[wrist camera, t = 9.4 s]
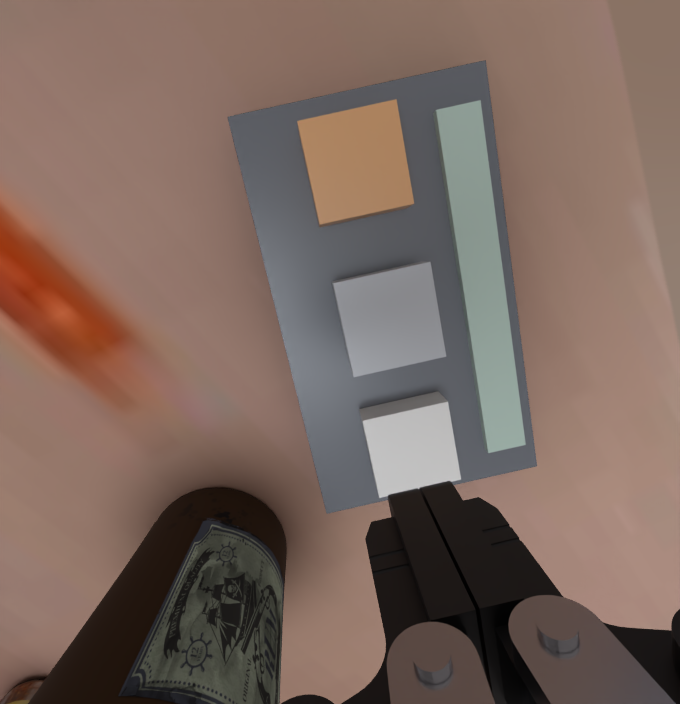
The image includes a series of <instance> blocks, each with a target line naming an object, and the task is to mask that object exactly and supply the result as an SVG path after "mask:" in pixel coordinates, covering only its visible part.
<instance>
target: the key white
mask: <svg viewBox="0 0 680 704" xmlns="http://www.w3.org/2000/svg"><path fill="white" fill-rule="evenodd" d="M359 411H360V415H361V420H362V424H363V429H364V433H365V438H366V443H367V447H368V452H369V456H370V461H371V465H372V470H373V475H374V479H375V483H376V487H377V491H378V495H379V498H382V497H386V496H388V495H389V494H394V493H398V492H402V491H407V490H411V489H416V488H418V489H419V488H420V487H424V486H428V485H433V484H437V483H441V482H446V481H451V482H453V481H457V480H461V475H460V470H459V464H458V458H457V452H456V446H455V440H454V434H453V428H452V422H451V417H450V411H449V405H448V401H447V400H446V399H445V398H444V397H443V396H442V395H441V394H440V393H439V391H437V392H433V393H428V394H424V395H419V396H415V397H410V398H406V399H402V400H397V401H393V402H388V403H384V404H379V405H375V406H370V407H366V408H361V409H359Z"/></svg>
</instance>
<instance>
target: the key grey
mask: <svg viewBox="0 0 680 704" xmlns="http://www.w3.org/2000/svg"><path fill="white" fill-rule="evenodd" d="M332 285H333V289H334V294H335V298H336V303H337V307H338V312H339V317H340V321H341V326H342V330H343V335H344V339H345V344H346V349H347V353H348V358H349V362H350V367H351V370H352V374H353V377H357V376H362V375H366V374H371V373H375V372H380V371H384V370H389V369H393V368H398V367H402V366H407V365H411V364H416V363H420V362H424V361H429V360H433V359H438V358H442V357H446V352H445V346H444V340H443V334H442V328H441V322H440V316H439V310H438V304H437V298H436V292H435V286H434V280H433V274H432V268H431V262H418V263H413V264H409V265H404V266H400V267H395V268H391V269H386V270H382V271H377V272H373V273H368V274H364V275H359V276H355V277H350V278H346V279H341V280H337V281H332Z"/></svg>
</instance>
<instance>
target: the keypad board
mask: <svg viewBox="0 0 680 704" xmlns="http://www.w3.org/2000/svg"><path fill="white" fill-rule="evenodd" d="M395 99H397V105H398V111H399V117H400V123H401V128H402V134H403V140H404V146H405V152H406V158H407V164H408V170H409V176H410V181H411V187H412V193H413V199H414V204H413V205H411V206H410V207H408V208H406V209H401V210H397V211H392V212H388V213H383V214H379V215H374V216H370V217H365V218H361V219H356V220H352V221H347V222H343V223H338V224H334V225H329V226H325V227H319V223H318V218H317V214H316V209H315V205H314V200H313V195H312V191H311V186H310V182H309V177H308V173H307V168H306V163H305V159H304V154H303V150H302V145H301V141H300V136H299V131H298V123H297V121H299V120H304V119H308V118H313V117H318V116H322V115H327V114H331V113H336V112H340V111H345V110H349V109H354V108H358V107H363V106H368V105H372V104H377V103H381V102H386V101H390V100H395ZM228 121H229V125H230V129H231V133H232V137H233V141H234V145H235V149H236V153H237V157H238V161H239V165H240V169H241V173H242V177H243V181H244V185H245V189H246V193H247V197H248V201H249V205H250V209H251V213H252V217H253V221H254V225H255V229H256V233H257V237H258V241H259V245H260V249H261V253H262V257H263V261H264V265H265V269H266V273H267V277H268V281H269V285H270V289H271V293H272V297H273V301H274V305H275V309H276V313H277V317H278V321H279V325H280V329H281V333H282V337H283V341H284V345H285V349H286V353H287V357H288V361H289V365H290V369H291V373H292V377H293V381H294V385H295V389H296V393H297V397H298V401H299V405H300V409H301V413H302V417H303V421H304V425H305V429H306V433H307V437H308V441H309V445H310V449H311V453H312V457H313V461H314V465H315V469H316V473H317V477H318V481H319V485H320V489H321V493H322V497H323V501H324V505H325V509H326V513H332V512H336V511H341V510H345V509H349V508H354V507H358V506H363V505H367V504H372V503H376V502H380V501H385V500H388V496H386V497H382V498H379V495H378V491H377V487H376V483H375V479H374V475H373V470H372V465H371V461H370V456H369V452H368V447H367V443H366V438H365V433H364V429H363V424H362V420H361V415H360V411H359V409H361V408H366V407H370V406H375V405H379V404H384V403H388V402H393V401H397V400H402V399H406V398H410V397H415V396H419V395H424V394H428V393H433V392H437V391H439V393H440V394H441V395H442V396H443V397H444V398H445V399H446V400H447V401H448V405H449V411H450V417H451V422H452V428H453V434H454V440H455V446H456V452H457V458H458V464H459V470H460V475H461V480H457V481H453V482H452V484H453V485H456V484H460V483H464V482H469V481H473V480H478V479H482V478H487V477H491V476H495V475H500V474H504V473H509V472H513V471H518V470H522V469H526V468H531V467H535V466H537V462H536V455H535V447H534V439H533V431H532V423H531V415H530V407H529V399H528V391H527V383H526V376H525V368H524V360H523V352H522V344H521V336H520V328H519V320H518V312H517V304H516V296H515V289H514V281H513V273H512V265H511V257H510V249H509V241H508V233H507V225H506V217H505V210H504V202H503V194H502V186H501V178H500V170H499V162H498V154H497V146H496V138H495V130H494V123H493V115H492V107H491V99H490V91H489V83H488V75H487V67H486V60H485V61H480V62H476V63H471V64H466V65H462V66H457V67H453V68H448V69H444V70H439V71H435V72H430V73H425V74H421V75H416V76H412V77H407V78H403V79H398V80H394V81H389V82H384V83H380V84H375V85H371V86H366V87H362V88H357V89H353V90H348V91H343V92H339V93H334V94H330V95H325V96H321V97H316V98H312V99H307V100H302V101H298V102H293V103H289V104H284V105H280V106H275V107H271V108H266V109H261V110H257V111H252V112H248V113H243V114H239V115H234V116H230V117H228ZM418 262H431V268H432V274H433V280H434V286H435V292H436V298H437V304H438V310H439V316H440V322H441V328H442V334H443V340H444V346H445V352H446V357H442V358H438V359H433V360H429V361H424V362H420V363H416V364H411V365H407V366H402V367H398V368H393V369H389V370H384V371H380V372H375V373H371V374H366V375H362V376H357V377H353V374H352V370H351V367H350V362H349V358H348V353H347V349H346V344H345V339H344V335H343V330H342V326H341V321H340V317H339V312H338V307H337V303H336V298H335V294H334V289H333V285H332V281H337V280H341V279H346V278H350V277H355V276H359V275H364V274H368V273H373V272H377V271H382V270H386V269H391V268H395V267H400V266H404V265H409V264H413V263H418Z"/></svg>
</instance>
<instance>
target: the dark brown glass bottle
mask: <svg viewBox="0 0 680 704" xmlns="http://www.w3.org/2000/svg"><path fill="white" fill-rule="evenodd" d="M285 568H286V540H285V536H284V532H283V529H282V527H281V525H280V523H279V521H278V519H277V518H276V516H275V515H274V514H273V513H272V511H271V510H270V509H269V508H268V507H267V506H265V505H264V504H263V503H262V502H260V501H259V500H257V499H256V498H254V497H252V496H250V495H248V494H245V493H243V492H240V491H236V490H232V489H224V488H210V489H203V490H199V491H195V492H192V493H189V494H187V495H185V496H183V497H181V498H179V499H178V500H176V501H175V502H173V503H172V504H171V505H170V506H169V507H168V508H167V509H166V510H165V511H164V512H163V513H162V514H161V515H160V517H159V518H158V519H157V521H156V522H155V524H154V525H153V527H152V528H151V530H150V531H149V533H148V534H147V536H146V537H145V539H144V540H143V542H142V543H141V545H140V546H139V548H138V549H137V551H136V552H135V553H134V555H133V556H132V558H131V559H130V561H129V562H128V564H127V565H126V567H125V568H124V570H123V571H122V572H121V574H120V575H119V577H118V578H117V580H116V581H115V582H114V584H113V585H112V587H111V588H110V589H109V591H108V592H107V594H106V595H105V597H104V598H103V599H102V601H101V602H100V604H99V605H98V606H97V608H96V609H95V611H94V612H93V613H92V615H91V616H90V618H89V619H88V621H87V622H86V623H85V625H84V626H83V628H82V629H81V630H80V632H79V633H78V635H77V636H76V637H75V639H74V640H73V642H72V643H71V644H70V646H69V647H68V649H67V650H66V651H65V653H64V654H63V656H62V657H61V658H60V660H59V661H58V662H57V664H56V665H55V667H54V668H53V669H52V671H51V672H50V674H49V675H48V676H47V678H46V679H45V680H44V682H43V683H42V685H41V686H40V687H39V689H38V690H37V692H36V693H35V694H34V696H33V697H32V698H31V700H30V701H29V703H28V704H279V703H280V673H281V648H282V622H283V600H284V583H285Z"/></svg>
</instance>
